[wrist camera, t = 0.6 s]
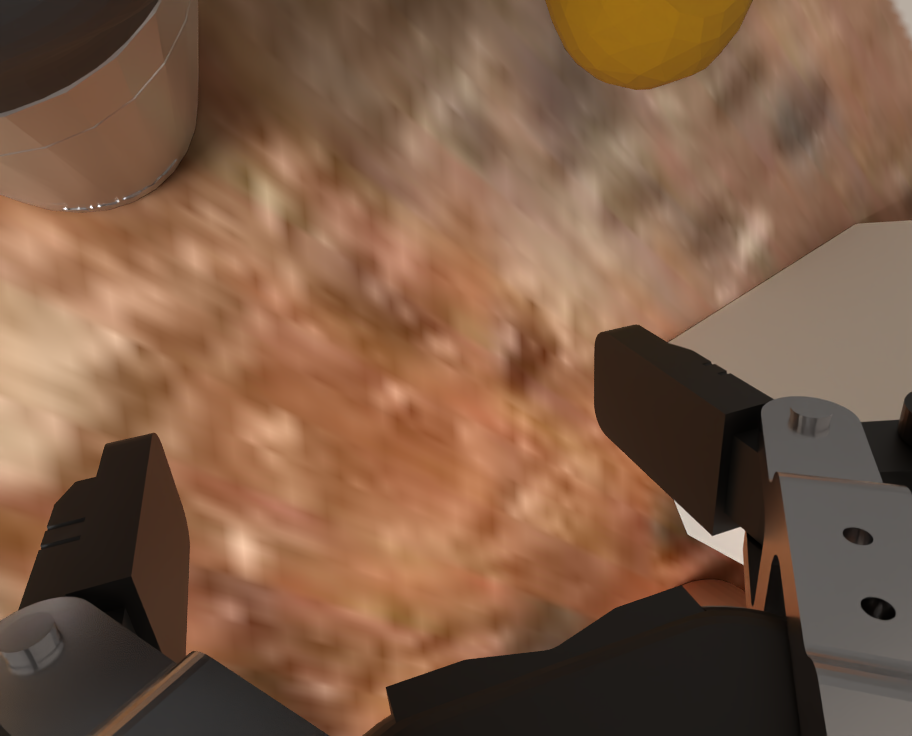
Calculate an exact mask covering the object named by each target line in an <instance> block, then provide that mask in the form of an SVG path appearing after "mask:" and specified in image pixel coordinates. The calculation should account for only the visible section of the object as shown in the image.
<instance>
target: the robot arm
mask: <svg viewBox="0 0 912 736" xmlns="http://www.w3.org/2000/svg"><path fill="white" fill-rule="evenodd" d="M198 80H199V68H198V0H0V195H3V196H6V197H9V198H11V199H14V200H17V201H20V202H23V203H26V204H30V205H34V206H37V207H41V208H45V209H48V210H53V211H65V212H77V213H84V212H93V211H103V210H110V209H113V208H116V207H119V206H122V205H125V204H128V203H131V202H134V201H136V200H138V199H139V198H141V197H143V196H145V195H146V194H148V193H150V192H151V191H153V190H155V189H156V188H157V187H158V186H159V185H161V184H162V183H163V182H164V181H165V180H166V179H167V178H168V177H169V176H170V175H171V174H172V173H173V172H174V171H175V169H176V168H177V166H178V165H179V163H180V162H181V160H182V159H183V157H184V155H185V154H186V152H187V150H188V148H189V145H190V142H191V139H192V136H193V133H194V131H195V127H196V118H197V109H198ZM594 408H595V414H596V418H597V421H598V423H599V426H600V428H601V429H602V431H603V432H604V434H605V435H606V436H607V437H608V438H609V439H610V440H611V441H612V442H613V443H614V444H615V445H617V446H618V447H619V448H620V449H621V450H622V451H623V452H624V453H625V454H626V455H627V456H628V457H629V458H630V459H631V460H632V461H633V462H634V463H636V464H637V465H638V466H639V467H640V468H641V469H642V470H643V471H644V472H645V473H646V474H647V475H648V476H649V477H650V478H651V479H652V480H653V481H655V482H656V483H657V484H658V485H659V486H660V487H661V488H662V489H663V490H664V491H665V492H666V493H667V494H668V495H669V496H670V497H671V498H672V499H673V500H675V501H676V502H677V503H678V504H679V505H680V506H681V507H682V508H683V509H684V510H685V511H686V512H687V513H688V514H689V515H690V516H691V517H692V518H694V519H695V520H696V521H697V522H698V523H699V524H700V525H701V526H702V527H703V528H704V529H705V530H706V531H707V532H708V533H709V534H710V535H711V536H714V535H717V534H720V533H724V532H727V531H730V530H733V529H736V528H739V527H741V528H742V529H744V530H745V535H744V542H743V562H744V578H745V595H746V608H745V607H734V606H700V605H699V604H698V603H697V602H696V600H695V599H694V598H693V597H692V596H691V595H690V594H689V593H688V592H687V590H686V589H685V588H684V587H683V586H682V585H681V586H678V587H675V588H672V589H669V590H666V591H663V592H660V593H657V594H655V595H652V596H649V597H646V598H643V599H640V600H637V601H634V602H631V603H628V604H626V605H623V606H620V607H617V608H615V609H613V610H612V611H610V612H609V613H607V614H606V615H604V616H603V617H601V618H600V619H598V620H597V621H595V622H594V623H592V624H591V625H589V626H588V627H586V628H585V629H583V630H582V631H580V632H579V633H577V634H576V635H574V636H573V637H571V638H570V639H568V640H566V641H565V642H563V643H562V644H560V645H559V646H557V647H555V648H553V649H550V650H545V651H538V652H529V653H520V654H512V655H503V656H494V657H485V658H476V659H468V660H463V661H460V662H457V663H455V664H452V665H449V666H446V667H443V668H440V669H437V670H434V671H431V672H428V673H426V674H423V675H420V676H417V677H414V678H411V679H408V680H405V681H402V682H399V683H397V684H394V685H391V686H388V687H386V691H387V696H388V701H389V706H390V711H391V715H390V716H388V717H387V718H385V719H384V720H382V721H381V722H379V723H378V724H376V725H375V726H374V727H373V728H371V729H370V730H369V731H368V732H367V733H365V734H364V735H363V736H912V392H910V393H909V394H907V395H906V397H905V399H904V403H903V407H902V411H901V415H900V419H899V420H884V421H868V422H860V420H859V418H858V417H857V416H856V415H855V414H854V413H853V412H851V411H850V410H849V409H847V408H845V407H843V406H841V405H839V404H836V403H834V402H831V401H827V400H824V399H819V398H814V397H805V396H789V397H781V398H777V399H773V398H771V397H769V396H768V395H766V394H764V393H763V392H761V391H759V390H758V389H756V388H754V387H753V386H751V385H749V384H748V383H746V382H744V381H743V380H741V379H739V378H738V377H736V376H734V375H733V374H731V373H729V374H727V371H726V370H725V369H723V368H721V367H720V366H718V365H716V364H712V363H711V361H710V360H708V359H706V358H705V357H703V356H701V355H700V354H698V353H696V352H695V351H693V350H690V349H687V348H684V347H680V346H677V345H674V344H670V343H667V342H666V341H664V340H663V339H661V338H659V337H658V336H656V335H654V334H653V333H651V332H650V331H648V330H646V329H645V328H643V327H642V326H640V325H631V326H627V327H622V328H618V329H613V330H609V331H605V332H601V333H599V334H598V336H597V337H596V340H595V351H594ZM47 528H48V531H45V534H44V537H43V540H42V543H41V550H39V552H38V554H37V557H36V560H35V563H34V566H33V569H32V572H31V575H30V578H29V581H28V583H27V586H26V589H25V592H24V595H23V598H22V601H21V604H20V607H19V610H18V611H16V612H14V613H13V614H11V615H9V616H8V617H6V618H4V619H3V620H1V621H0V736H329V735H327V734H326V733H324V732H323V731H321V730H320V729H318V728H317V727H315V726H314V725H312V724H311V723H309V722H308V721H306V720H305V719H303V718H302V717H300V716H299V715H297V714H296V713H294V712H293V711H291V710H290V709H288V708H287V707H285V706H284V705H282V704H281V703H279V702H278V701H276V700H275V699H273V698H272V697H270V696H269V695H267V694H266V693H264V692H262V691H261V690H259V689H258V688H256V687H255V686H253V685H252V684H250V683H249V682H247V681H246V680H244V679H243V678H241V677H240V676H238V675H237V674H235V673H234V672H232V671H231V670H229V669H228V668H226V667H225V666H223V665H222V664H220V663H219V662H217V661H216V660H214V659H213V658H211V657H209V656H208V655H206V654H204V653H201V652H198V651H192V652H191V653H189V654H188V655H187V656H186V632H187V606H188V579H189V553H190V541H189V532H188V526H187V521H186V517H185V513H184V510H183V506H182V503H181V500H180V497H179V494H178V491H177V488H176V486H175V483H174V480H173V477H172V474H171V471H170V468H169V465H168V462H167V459H166V456H165V453H164V450H163V447H162V444H161V442H160V439H159V437H158V436H157V434H156V433H151V434H147V435H142V436H138V437H134V438H129V439H125V440H120V441H116V442H111V443H107V444H106V445H105V447H104V450H103V454H102V458H101V461H100V465H99V469H98V472H97V476H96V477H94V478H90V479H85V480H81V481H77V482H75V483H74V484H73V485H72V486H71V487H70V489H69V490H68V491H67V492H66V493H65V494H64V495H63V496H62V497H61V498H60V499H59V500H58V501H57V502H56V504H55V505H54V508H53V511H52V514H51V517H50V520H49V522H48V525H47Z"/></svg>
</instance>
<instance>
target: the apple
mask: <svg viewBox="0 0 912 736" xmlns="http://www.w3.org/2000/svg"><path fill="white" fill-rule="evenodd" d="M545 1H546V4H547V7H548V10H549V13H550V16H551V19H552V22H553V24H554V26H555V29H556V31H557V33H558V35H559V37H560V39H561V41H562V43H563V45H564V47H565V49H566V50H567V52H568V53H569V54H570V56H571V57H572V58H573V59H574V61H575V62H576V63H577V64H578V65H580V66H581V67H582V68H583V69H585V70H586V71H587V72H589V73H590V74H591V75H593V76H594V77H595V78H597V79H599V80H601V81H603V82H605V83H609V84H613V85H617V86H622V87H626V88H630V89H635V90H641V89H652V88H655V87H658V86H662V85H665V84H668V83H671V82H674V81H677V80H680V79H682V78H685V77H688V76H691V75H693V74H695V73H697V72H699V71H701V70H703V69H705V68H706V67H707V66H708V65H709V64H710V63H711V62H712V61H713V60H714V59H715V58H716V57H717V56H718V55H719V54H720V53H721V52H722V50H723V49H724V48H725V47H726V45H727V44H728V43H729V41H730V40H731V39H732V38H733V36H734V35H735V34H736V32H737V31H738V30H739V28H740V26H741V24H742V22H743V20H744V18H745V15H746V13H747V11H748V9H749V7H750V5H751V3H752V1H753V0H545Z"/></svg>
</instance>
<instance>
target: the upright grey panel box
mask: <svg viewBox="0 0 912 736" xmlns="http://www.w3.org/2000/svg"><path fill="white" fill-rule="evenodd" d="M668 343H670V344H674V345H677V346H680V347H684V348H687V349H690V350H693V351H695V352H696V353H698V354H700V355H701V356H703V357H705V358H706V359H708V360H710V361H711V363H712V364H716V365H718V366H720V367H721V368H723V369H725V370H726V371H727V374H729V373H731V374H733V375H734V376H736V377H738V378H739V379H741V380H743V381H744V382H746V383H748V384H749V385H751V386H753V387H754V388H756V389H758V390H759V391H761V392H763V393H764V394H766V395H768V396H769V397H771V398H773V399H777V398H781V397H789V396H805V397H814V398H819V399H824V400H827V401H831V402H834V403H836V404H839V405H841V406H843V407H845V408H847V409H849V410H850V411H851V412H853V413H854V414H855V415H856V416H857V417H858V418H859V420H860V422H868V421H884V420H899V419H900V415H901V411H902V407H903V403H904V399H905V397H906V395H907V394H909V393H910V392H912V220H907V221H891V222H875V223H859V224H855V225H853V226H852V227H850V228H848V229H847V230H845V231H844V232H842V233H841V234H839V235H837V236H836V237H834V238H833V239H831V240H829V241H828V242H826V243H825V244H823V245H822V246H820V247H818V248H817V249H815V250H814V251H812V252H810V253H809V254H807V255H806V256H804V257H803V258H801V259H799V260H798V261H796V262H795V263H793V264H791V265H790V266H788V267H787V268H785V269H783V270H782V271H780V272H779V273H777V274H776V275H774V276H772V277H771V278H769V279H768V280H766V281H764V282H763V283H761V284H760V285H758V286H757V287H755V288H753V289H752V290H750V291H749V292H747V293H745V294H744V295H742V296H741V297H739V298H738V299H736V300H734V301H733V302H731V303H730V304H728V305H726V306H725V307H723V308H722V309H720V310H719V311H717V312H715V313H714V314H712V315H711V316H709V317H707V318H706V319H704V320H703V321H701V322H699V323H698V324H696V325H695V326H693V327H692V328H690V329H688V330H687V331H685V332H684V333H682V334H680V335H679V336H677V337H676V338H674V339H673V340H671V341H669V342H668ZM674 501H675V500H674ZM675 504H676V506H677V509H678V511H679V514H680V516H681V519H682V521H683V524H684V526H685V529H686V531H687V534H688V535H690V536H692V537H693V538H695V539H697V540H699V541H701V542H703V543H704V544H706V545H708V546H710V547H712V548H713V549H715V550H717V551H719V552H721V553H723V554H724V555H726V556H728V557H730V558H732V559H733V560H735V561H737V562H739V563H741V564H742V565H744V562H743V542H744V535H745V530H744V529H742V528H741V527H739V528H736V529H733V530H730V531H727V532H724V533H720V534H717V535H714V536H711V535H710V534H709V533H708V532H707V531H706V530H705V529H704V528H703V527H702V526H701V525H700V524H699V523H698V522H697V521H696V520H695V519H694V518H692V517H691V516H690V515H689V514H688V513H687V512H686V511H685V510H684V509H683V508H682V507H681V506H680V505H679V504H678V503H677V502H676V501H675Z"/></svg>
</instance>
